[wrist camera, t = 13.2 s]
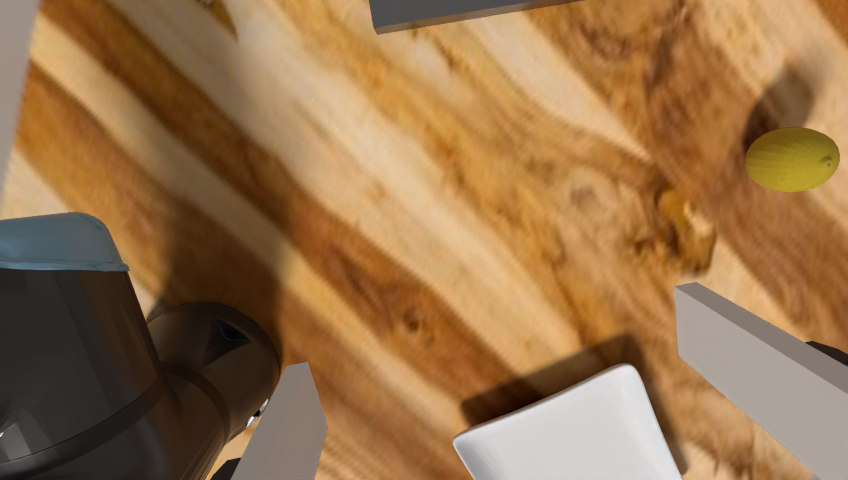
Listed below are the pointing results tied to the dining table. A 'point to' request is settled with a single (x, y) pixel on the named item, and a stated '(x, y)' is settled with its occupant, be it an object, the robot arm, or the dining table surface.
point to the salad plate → (574, 435)
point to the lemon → (792, 159)
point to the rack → (443, 11)
